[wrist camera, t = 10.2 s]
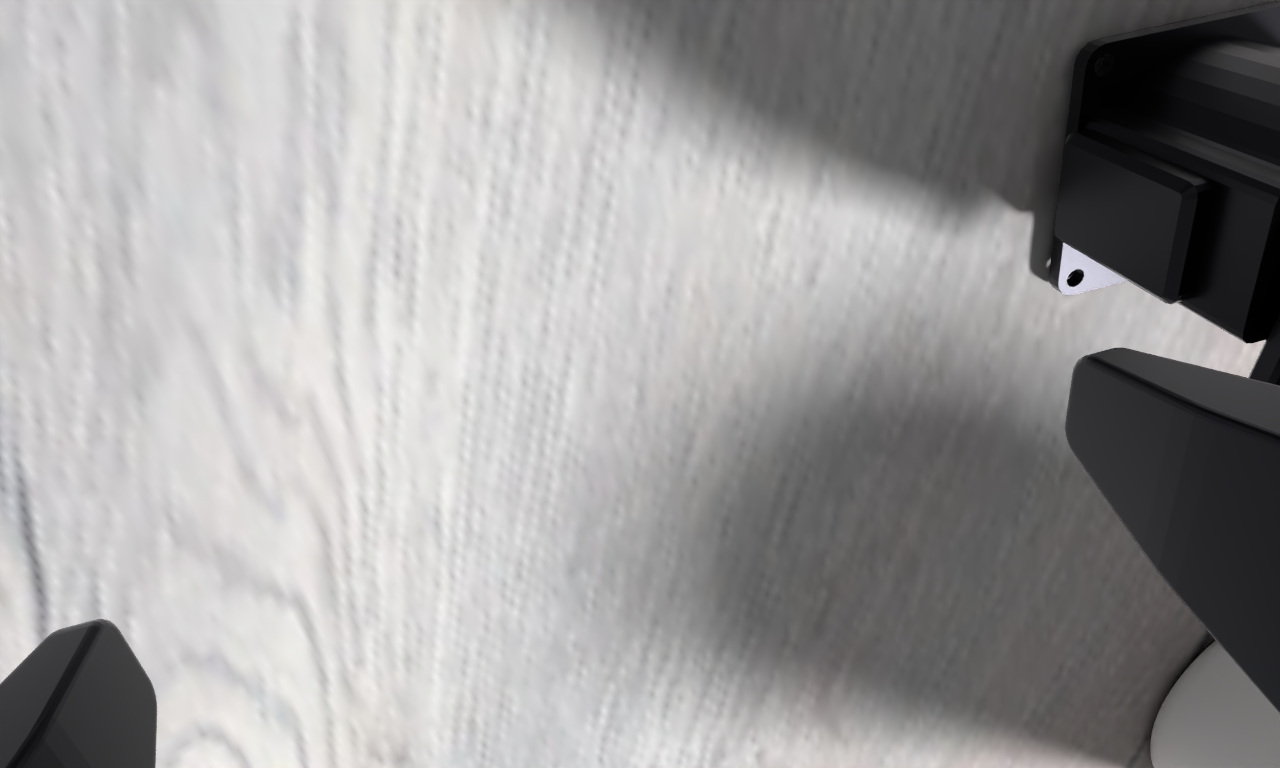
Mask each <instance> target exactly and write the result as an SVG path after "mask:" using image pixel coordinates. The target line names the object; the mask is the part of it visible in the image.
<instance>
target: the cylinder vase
mask: <svg viewBox="0 0 1280 768" xmlns="http://www.w3.org/2000/svg"><path fill="white" fill-rule="evenodd" d="M1150 751H1151V760H1152V764H1153V767H1154V768H1280V714H1279V713H1278V712H1277V710H1276V709H1275V708H1274V707H1273V706H1272V705H1271V704H1270V702H1269V701H1268V700H1267V699H1266V698H1265V697H1264V695H1263V694H1262V693H1261V692H1260V691H1259V690H1258V688H1257V687H1256V686H1255V685H1254V684H1253V683H1252V682H1251V680H1250V679H1249V678H1248V677H1247V676H1246V675H1245V673H1244V672H1243V671H1242V670H1241V669H1240V668H1239V666H1238V665H1237V664H1236V663H1235V662H1234V661H1233V660H1232V658H1231V657H1230V656H1229V655H1228V654H1227V653H1226V651H1225V650H1224V649H1223V648H1222V647H1221V646H1220V644H1219V643H1218V642H1217V641H1216V640H1215V641H1214V642H1213V643H1212V644H1211V645H1209V646H1208V647H1207V648H1206V649H1205V650H1204V651H1203V652H1202V653H1201V654H1200V655H1199V656H1198V657H1197V658H1196V659H1195V660H1194V661H1193V662H1192V663H1191V665H1190V666H1189V667H1188V668H1187V669H1186V670H1185V672H1184V673H1183V674H1182V675H1181V677H1180V678H1179V679H1178V680H1177V682H1176V683H1175V685H1174V686H1173V687H1172V689H1171V690H1170V692H1169V694H1168V695H1167V697H1166V699H1165V700H1164V702H1163V704H1162V706H1161V708H1160V710H1159V713H1158V715H1157V717H1156V720H1155V723H1154V727H1153V730H1152V735H1151V744H1150Z"/></svg>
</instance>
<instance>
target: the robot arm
mask: <svg viewBox="0 0 1280 768" xmlns="http://www.w3.org/2000/svg"><path fill="white" fill-rule="evenodd" d="M1101 56H1103V61H1102V64H1101V66H1100V67H1099V68H1098V70H1096V71H1095V65H1096V62H1097V60H1098V59H1099V58H1100V57H1101ZM1072 271H1074V273H1073V275H1072V276H1071V277H1070V278H1069V279H1067V278H1068V275H1069V274H1070V273H1071V272H1072ZM1049 281H1050V284H1051V285H1052V287H1054V288H1055V289H1057V290H1058V291H1060V292H1061V293H1063V294H1065V295H1075V294H1079V293H1083V292H1086V291H1090V290H1094V289H1098V288H1102V287H1106V286H1110V285H1114V284H1118V283H1122V282H1126V281H1129V282H1131V283H1133V284H1134V285H1136V286H1138V287H1139V288H1141V289H1143V290H1145V291H1146V292H1148V293H1150V294H1151V295H1153V296H1155V297H1156V298H1158V299H1160V300H1161V301H1163V302H1165V303H1168V304H1173V303H1178V304H1180V305H1182V306H1183V307H1185V308H1187V309H1189V310H1190V311H1192V312H1194V313H1195V314H1197V315H1199V316H1201V317H1202V318H1204V319H1206V320H1207V321H1209V322H1211V323H1213V324H1214V325H1216V326H1218V327H1219V328H1221V329H1223V330H1224V331H1226V332H1228V333H1230V334H1231V335H1233V336H1235V337H1236V338H1238V339H1240V340H1242V341H1243V342H1245V343H1255V342H1258V341H1262V340H1266V342H1265V344H1264V346H1263V348H1262V350H1261V352H1260V354H1259V356H1258V358H1257V361H1256V363H1255V365H1254V367H1253V369H1252V371H1251V373H1250V375H1249V377H1248V378H1246V377H1242V376H1238V375H1233V374H1229V373H1225V372H1221V371H1217V370H1213V369H1209V368H1205V367H1201V366H1197V365H1192V364H1188V363H1184V362H1180V361H1176V360H1172V359H1168V358H1164V357H1160V356H1156V355H1151V354H1147V353H1143V352H1139V351H1135V350H1131V349H1127V348H1113V349H1109V350H1105V351H1101V352H1097V353H1094V354H1090V355H1086V356H1084V357H1082V358H1081V359H1079V360H1078V362H1077V363H1076V365H1075V367H1074V369H1073V374H1072V380H1071V387H1070V394H1069V401H1068V408H1067V415H1066V422H1065V430H1066V437H1067V440H1068V443H1069V445H1070V448H1071V449H1072V451H1073V453H1074V454H1075V456H1076V457H1077V459H1078V460H1079V462H1080V463H1081V464H1082V466H1083V467H1084V469H1085V470H1086V472H1087V473H1088V474H1089V476H1090V477H1091V479H1092V480H1093V482H1094V483H1095V484H1096V486H1097V487H1098V489H1099V490H1100V492H1101V493H1102V494H1103V496H1104V497H1105V499H1106V500H1107V502H1108V503H1109V504H1110V506H1111V507H1112V509H1113V510H1114V512H1115V513H1116V514H1117V516H1118V517H1119V519H1120V520H1121V522H1122V523H1123V524H1124V526H1125V527H1126V529H1127V530H1128V532H1129V533H1130V534H1131V536H1132V537H1133V539H1134V540H1135V542H1136V543H1137V544H1138V546H1139V547H1140V549H1141V550H1142V552H1143V553H1144V554H1145V556H1146V557H1147V558H1148V560H1149V561H1150V562H1151V564H1152V565H1153V566H1154V568H1155V569H1156V570H1157V572H1158V573H1159V574H1160V575H1161V577H1162V578H1163V579H1164V580H1165V581H1166V583H1167V584H1168V585H1169V586H1170V588H1171V589H1172V590H1173V591H1174V592H1175V594H1176V595H1177V596H1178V597H1179V598H1180V599H1181V600H1182V602H1183V603H1184V604H1185V605H1186V606H1187V607H1188V609H1189V610H1190V611H1191V612H1192V613H1193V614H1194V616H1195V617H1196V618H1197V619H1198V620H1199V621H1200V622H1201V624H1202V625H1203V626H1204V627H1205V628H1206V629H1207V631H1208V632H1209V633H1210V634H1211V635H1212V636H1213V638H1214V639H1215V640H1216V641H1217V642H1218V643H1219V644H1220V646H1221V647H1222V648H1223V649H1224V650H1225V651H1226V653H1227V654H1228V655H1229V656H1230V657H1231V658H1232V660H1233V661H1234V662H1235V663H1236V664H1237V665H1238V666H1239V668H1240V669H1241V670H1242V671H1243V672H1244V673H1245V675H1246V676H1247V677H1248V678H1249V679H1250V680H1251V682H1252V683H1253V684H1254V685H1255V686H1256V687H1257V688H1258V690H1259V691H1260V692H1261V693H1262V694H1263V695H1264V697H1265V698H1266V699H1267V700H1268V701H1269V702H1270V704H1271V705H1272V706H1273V707H1274V708H1275V709H1276V710H1277V712H1278V713H1279V714H1280V1H1276V2H1272V3H1267V4H1262V5H1257V6H1253V7H1248V8H1243V9H1238V10H1234V11H1229V12H1224V13H1220V14H1215V15H1210V16H1205V17H1201V18H1196V19H1191V20H1186V21H1182V22H1177V23H1172V24H1167V25H1163V26H1158V27H1153V28H1149V29H1144V30H1139V31H1134V32H1130V33H1125V34H1120V35H1115V36H1111V37H1106V38H1101V39H1096V40H1094V41H1092V42H1089V43H1088V44H1087V45H1086V46H1084V47H1083V48H1082V49H1081V51H1080V52H1079V54H1078V56H1077V58H1076V61H1075V65H1074V72H1073V80H1072V89H1071V97H1070V105H1069V114H1068V122H1067V130H1066V139H1065V144H1064V151H1063V159H1062V168H1061V176H1060V184H1059V193H1058V201H1057V210H1056V218H1055V226H1054V239H1053V248H1052V256H1051V264H1050V273H1049ZM156 731H157V701H156V695H155V691H154V688H153V685H152V683H151V681H150V679H149V677H148V676H147V674H146V672H145V671H144V669H143V668H142V666H141V664H140V663H139V661H138V659H137V658H136V656H135V655H134V653H133V651H132V650H131V648H130V647H129V645H128V643H127V642H126V640H125V639H124V637H123V635H122V634H121V632H120V631H119V629H118V628H117V627H116V626H115V625H114V624H113V623H112V622H110V621H108V620H104V619H97V620H93V621H89V622H85V623H82V624H78V625H74V626H70V627H67V628H63V629H60V630H57V631H55V632H53V633H52V634H50V635H49V636H48V637H47V638H46V639H45V640H44V641H43V642H42V643H41V644H40V645H39V646H38V647H37V648H36V649H35V650H34V651H33V652H32V653H31V654H30V655H29V656H28V657H27V658H26V659H25V660H24V661H23V662H22V663H21V664H20V665H19V666H18V667H17V668H16V669H15V670H14V671H13V672H12V673H11V674H10V675H9V676H8V677H7V678H6V679H5V680H4V681H3V682H2V683H1V684H0V768H155V762H156Z"/></svg>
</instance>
